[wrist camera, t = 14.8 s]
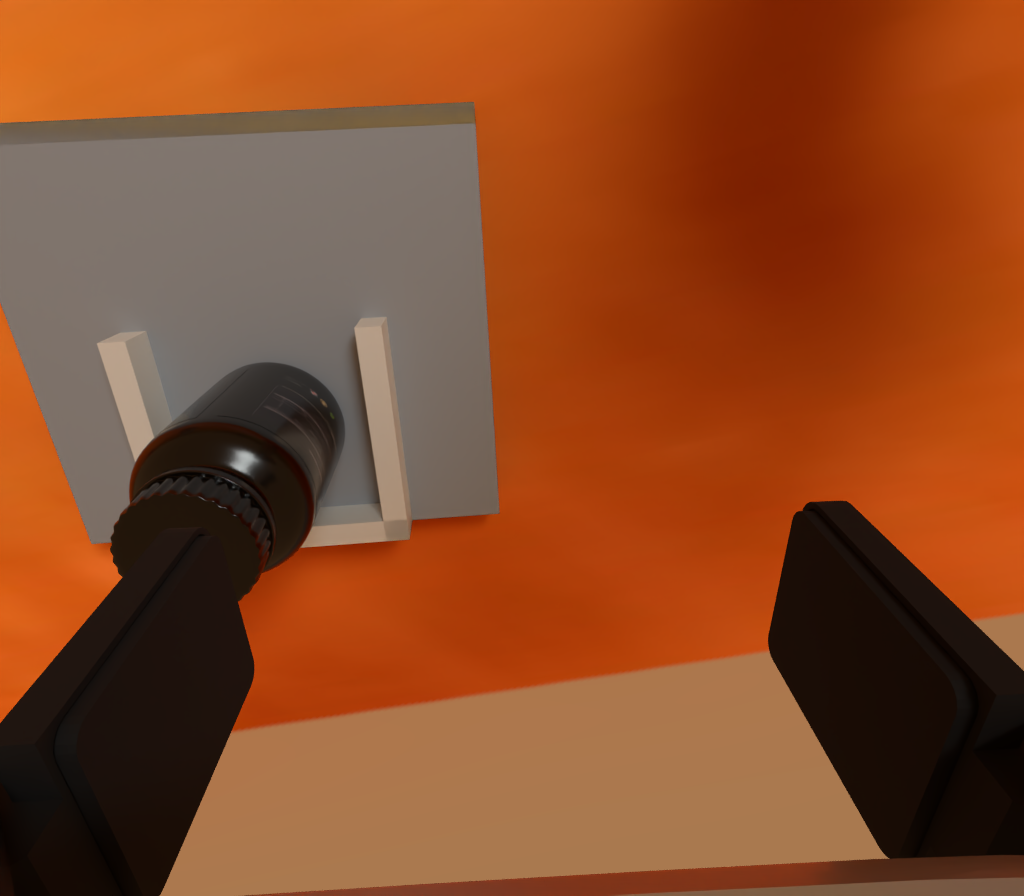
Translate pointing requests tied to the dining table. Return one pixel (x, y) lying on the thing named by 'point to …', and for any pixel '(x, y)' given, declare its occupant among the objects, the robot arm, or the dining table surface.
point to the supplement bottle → (238, 470)
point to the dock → (258, 293)
